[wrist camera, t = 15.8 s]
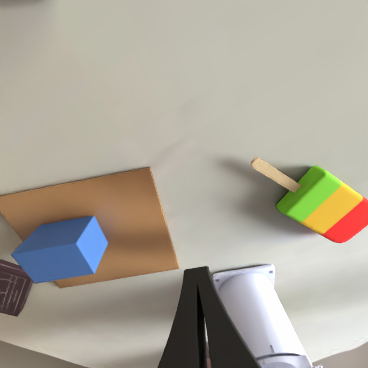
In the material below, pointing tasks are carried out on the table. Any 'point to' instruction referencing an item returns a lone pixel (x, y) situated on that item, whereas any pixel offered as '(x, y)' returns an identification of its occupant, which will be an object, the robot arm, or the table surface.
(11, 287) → the chocolate bar
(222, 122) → the table surface
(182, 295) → the robot arm
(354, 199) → the popsicle
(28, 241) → the blue block
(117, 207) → the cork mat
